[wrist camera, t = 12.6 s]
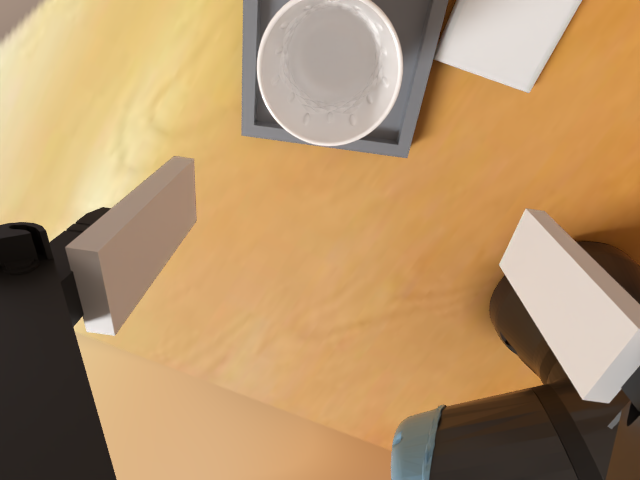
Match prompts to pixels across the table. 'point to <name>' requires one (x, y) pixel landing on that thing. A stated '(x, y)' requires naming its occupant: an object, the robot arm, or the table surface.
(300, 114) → the white cup
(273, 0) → the tray
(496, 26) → the external hard drive
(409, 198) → the table surface
